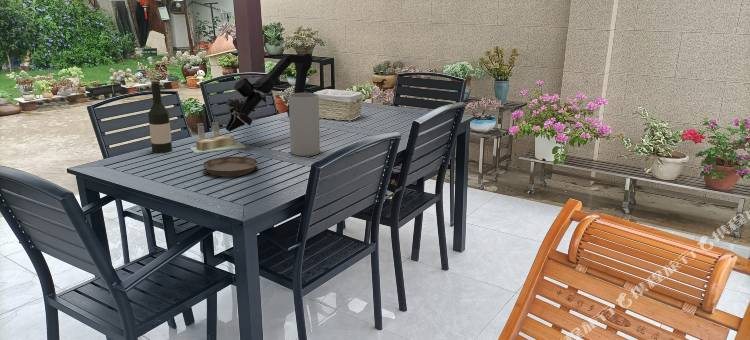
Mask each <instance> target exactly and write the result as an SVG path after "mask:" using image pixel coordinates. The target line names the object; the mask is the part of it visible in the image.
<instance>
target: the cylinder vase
mask: <svg viewBox="0 0 750 340" xmlns="http://www.w3.org/2000/svg"><path fill="white" fill-rule="evenodd" d="M288 105H289V116H290V118H289V138H290V139H289V140H290V142H289V143H290V153H291V154H292V155H294V156H299V157H311V155H312V156H315V155H319V153H320V151H321V147H320V146H321V143H320V141H321V140H320V139H321V138H320V135H321V134H320V118H319V95H318V94H315V93H314V92H313V93H312V92H305V93H294V92H293V93H291V94H290V93H289V94H288Z"/></svg>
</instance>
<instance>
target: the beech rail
mask: <svg viewBox="0 0 750 340" xmlns="http://www.w3.org/2000/svg"><path fill="white" fill-rule="evenodd" d="M234 142H235V137H234V136H232V135H228V134H226V135H221V136H220V137H215V138H213V137H211V138H207V139H206V138H205V139H204V140H199V139H198V140H195V147H196V149H198V150H201V151H205V150H210V149H215V148H220V147H225V146H230V145H234Z"/></svg>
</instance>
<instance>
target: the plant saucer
mask: <svg viewBox="0 0 750 340" xmlns="http://www.w3.org/2000/svg"><path fill="white" fill-rule="evenodd" d="M258 164H259V161H258V160H257V159H256V158H252V157H249V156H248V157H247V156H236V155H235V156H221V157H215V158H212V159H211V158H210V159H208V160H205V161H204V162H203V163H202V167H203V169H204V170H205V171H206V172H208V173H209V174H211V175H213V176H217V177H236V176H237V177H238V176H244V175H247V174H249V173H252V172H253V171H254V170H255V169H256V168H257V166H258ZM243 174H244V175H243Z"/></svg>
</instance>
